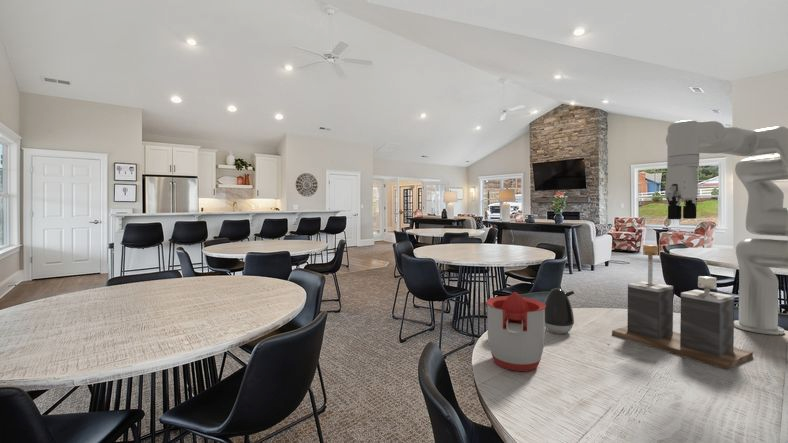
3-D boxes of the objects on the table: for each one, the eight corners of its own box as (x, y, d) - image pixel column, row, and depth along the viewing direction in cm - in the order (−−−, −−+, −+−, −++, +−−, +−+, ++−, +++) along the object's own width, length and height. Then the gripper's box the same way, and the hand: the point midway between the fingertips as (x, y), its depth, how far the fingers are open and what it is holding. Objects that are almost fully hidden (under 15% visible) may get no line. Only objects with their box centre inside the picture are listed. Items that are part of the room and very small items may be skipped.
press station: (639, 326, 126) (639, 278, 126) (752, 357, 100) (753, 296, 99) (612, 334, 119) (612, 283, 119) (727, 369, 92) (728, 303, 92)
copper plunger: (644, 303, 120) (644, 244, 120) (667, 307, 114) (668, 245, 114) (632, 305, 117) (633, 245, 117) (656, 310, 111) (656, 247, 110)
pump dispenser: (578, 337, 117) (578, 292, 116) (545, 335, 119) (545, 291, 119) (569, 327, 127) (569, 285, 126) (539, 325, 129) (539, 284, 128)
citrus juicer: (483, 373, 92) (482, 298, 91) (489, 349, 108) (488, 284, 107) (548, 383, 86) (548, 302, 86) (544, 355, 103) (544, 287, 102)
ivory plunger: (697, 340, 107) (698, 274, 107) (727, 348, 101) (728, 278, 101) (685, 344, 104) (686, 276, 104) (715, 353, 98) (716, 280, 97)
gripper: (681, 165, 114) (680, 218, 115) (654, 162, 106) (653, 219, 106) (710, 162, 108) (710, 218, 108) (684, 159, 99) (683, 219, 100)
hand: (682, 218), depth 107 cm, fingers open, 9 cm apart
